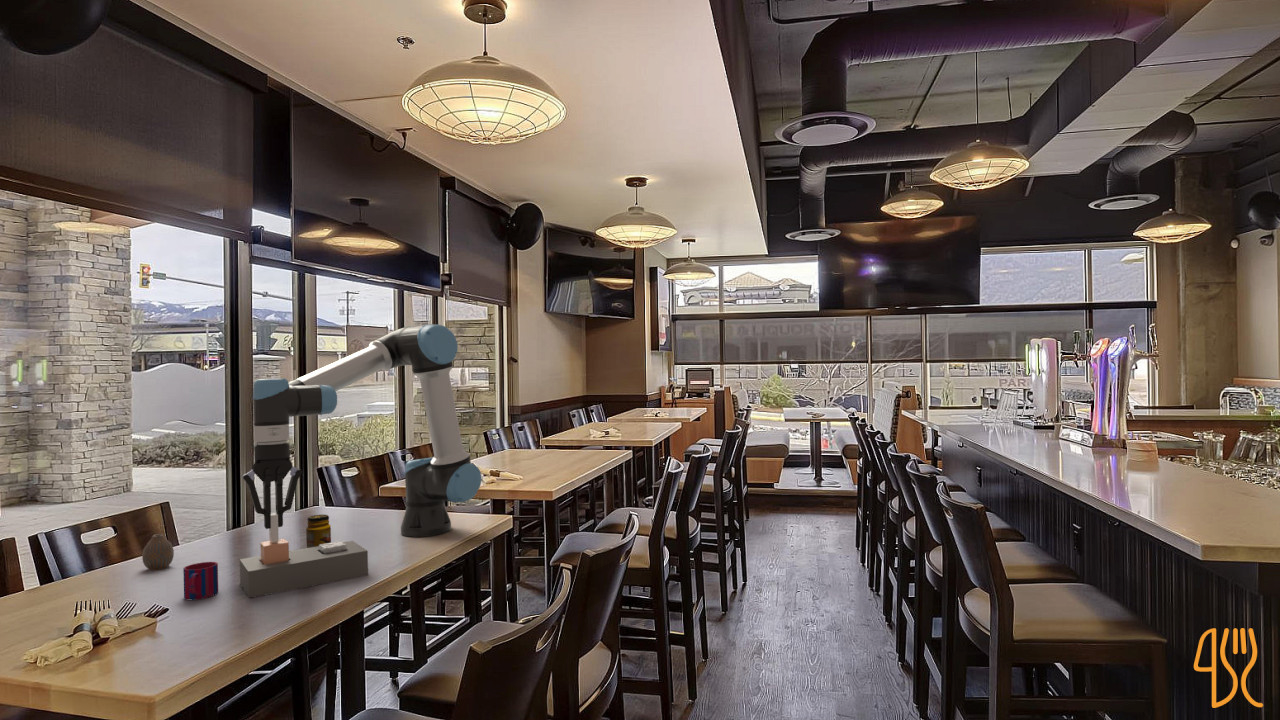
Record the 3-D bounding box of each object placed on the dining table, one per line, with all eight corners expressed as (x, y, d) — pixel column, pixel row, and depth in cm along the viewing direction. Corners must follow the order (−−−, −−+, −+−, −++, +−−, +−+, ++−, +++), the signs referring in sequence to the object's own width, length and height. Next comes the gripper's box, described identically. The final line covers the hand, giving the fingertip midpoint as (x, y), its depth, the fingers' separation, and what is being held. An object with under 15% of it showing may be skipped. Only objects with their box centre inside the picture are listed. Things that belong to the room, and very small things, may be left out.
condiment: (336, 560, 188) (335, 515, 188) (303, 567, 182) (302, 521, 182) (326, 555, 193) (325, 512, 193) (294, 562, 187) (293, 517, 187)
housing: (352, 563, 184) (352, 540, 184) (368, 574, 173) (367, 550, 173) (240, 584, 168) (239, 559, 168) (248, 598, 157) (248, 571, 157)
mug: (223, 589, 164) (222, 560, 164) (204, 603, 154) (204, 572, 155) (192, 592, 163) (191, 563, 163) (171, 606, 153) (170, 575, 153)
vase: (136, 571, 183) (135, 537, 183) (159, 564, 190) (159, 531, 190) (157, 572, 181) (156, 538, 182) (180, 564, 188) (179, 532, 188)
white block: (341, 564, 178) (340, 541, 178) (346, 568, 174) (346, 544, 174) (319, 568, 175) (319, 544, 175) (324, 572, 171) (323, 548, 171)
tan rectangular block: (285, 563, 170) (284, 538, 170) (289, 567, 166) (288, 542, 166) (261, 567, 167) (260, 542, 167) (264, 572, 163) (264, 546, 163)
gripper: (243, 446, 160) (245, 549, 160) (304, 441, 168) (307, 539, 167) (238, 444, 166) (240, 543, 166) (298, 439, 174) (300, 534, 173)
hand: (274, 541), depth 167 cm, fingers closed
